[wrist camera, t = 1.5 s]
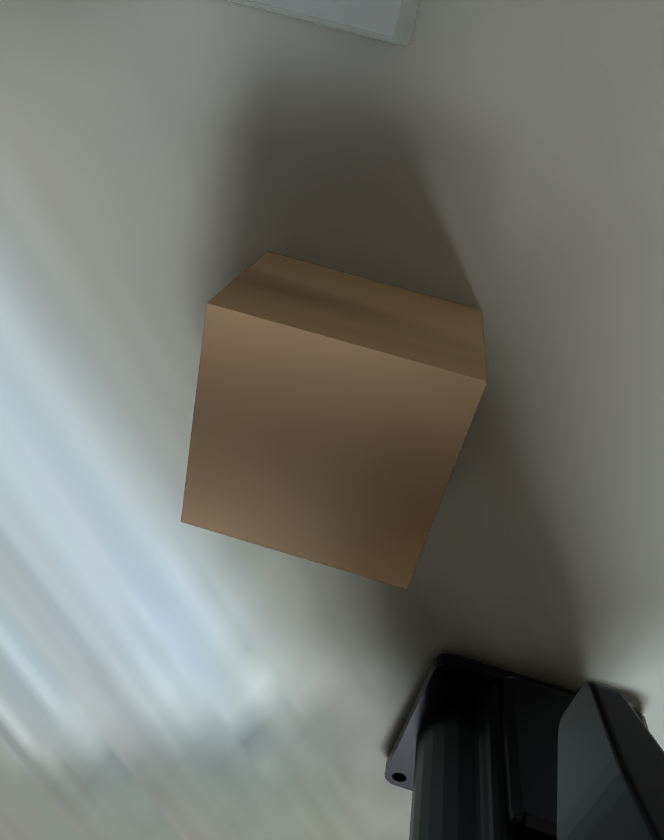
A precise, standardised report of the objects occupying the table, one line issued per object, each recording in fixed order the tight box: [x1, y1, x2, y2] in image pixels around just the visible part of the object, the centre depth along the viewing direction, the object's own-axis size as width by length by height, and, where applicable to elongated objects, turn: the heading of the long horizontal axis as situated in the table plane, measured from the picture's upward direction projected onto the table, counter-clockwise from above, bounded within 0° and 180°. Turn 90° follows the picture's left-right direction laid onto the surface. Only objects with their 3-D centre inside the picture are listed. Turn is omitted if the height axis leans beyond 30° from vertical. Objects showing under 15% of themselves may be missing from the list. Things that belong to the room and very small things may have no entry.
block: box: [181, 252, 487, 589], centre depth 14 cm, size 5×5×4 cm
